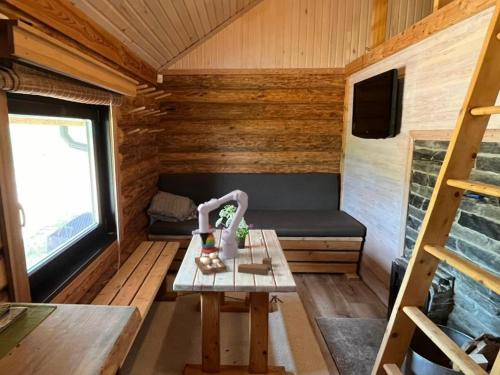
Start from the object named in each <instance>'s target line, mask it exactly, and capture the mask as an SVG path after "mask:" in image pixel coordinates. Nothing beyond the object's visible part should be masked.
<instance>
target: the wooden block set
mask: <svg viewBox="0 0 500 375" xmlns="http://www.w3.org/2000/svg"><path fill="white" fill-rule="evenodd" d="M272 259H273V257H272V256H271V257H264V258H263V259H262V260H261V263H256V262H255V263H254V262H251V263H240V264H238V265H237V273H243V274H250V275H256V276H257V275H258V276H265V277H266V276H267V275H268V274H269V271H271V270H272V264H273V263H272V262H273V260H272Z"/></svg>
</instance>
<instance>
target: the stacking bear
mask: <svg viewBox="0 0 500 375" xmlns="http://www.w3.org/2000/svg"><path fill="white" fill-rule="evenodd" d="M208 226H209V229H214V228H213V226H211V224H208ZM200 243H201V244H200V245H201V252H202V253H203V254H207V255H210V253H215V252H217V251H219V248H218V247H217V246H215V245H216V239H215V235H214V232H211V233H209V236H208V238H207V241H206V245H203V242H202V239H201V240H200Z"/></svg>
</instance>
